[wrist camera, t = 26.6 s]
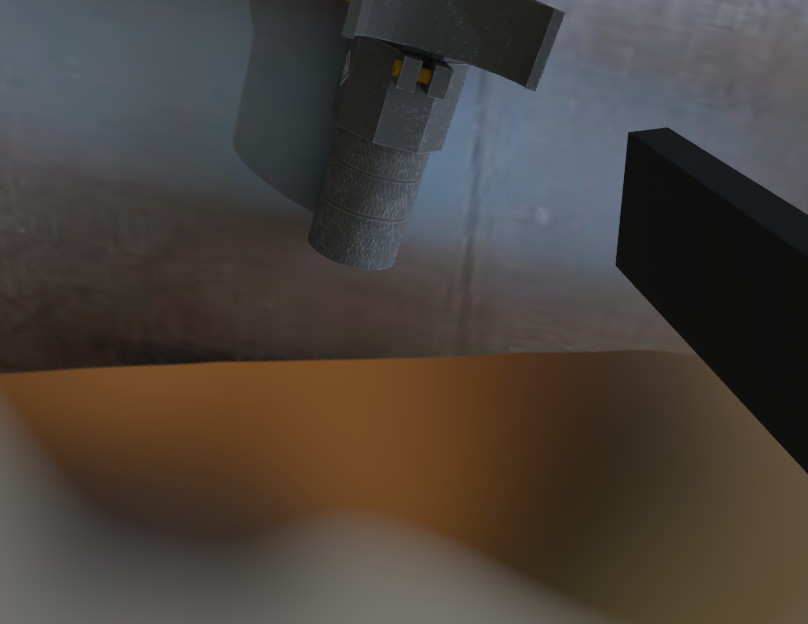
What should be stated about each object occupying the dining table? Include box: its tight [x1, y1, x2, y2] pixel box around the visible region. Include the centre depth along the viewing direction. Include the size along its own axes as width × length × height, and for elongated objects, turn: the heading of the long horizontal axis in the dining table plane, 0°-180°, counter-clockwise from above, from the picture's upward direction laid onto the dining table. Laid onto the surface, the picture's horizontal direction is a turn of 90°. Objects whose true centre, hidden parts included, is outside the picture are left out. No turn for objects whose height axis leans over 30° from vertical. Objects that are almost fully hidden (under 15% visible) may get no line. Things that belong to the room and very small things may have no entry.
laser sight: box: [308, 0, 565, 270], centre depth 40 cm, size 10×22×10 cm, turn 163°
